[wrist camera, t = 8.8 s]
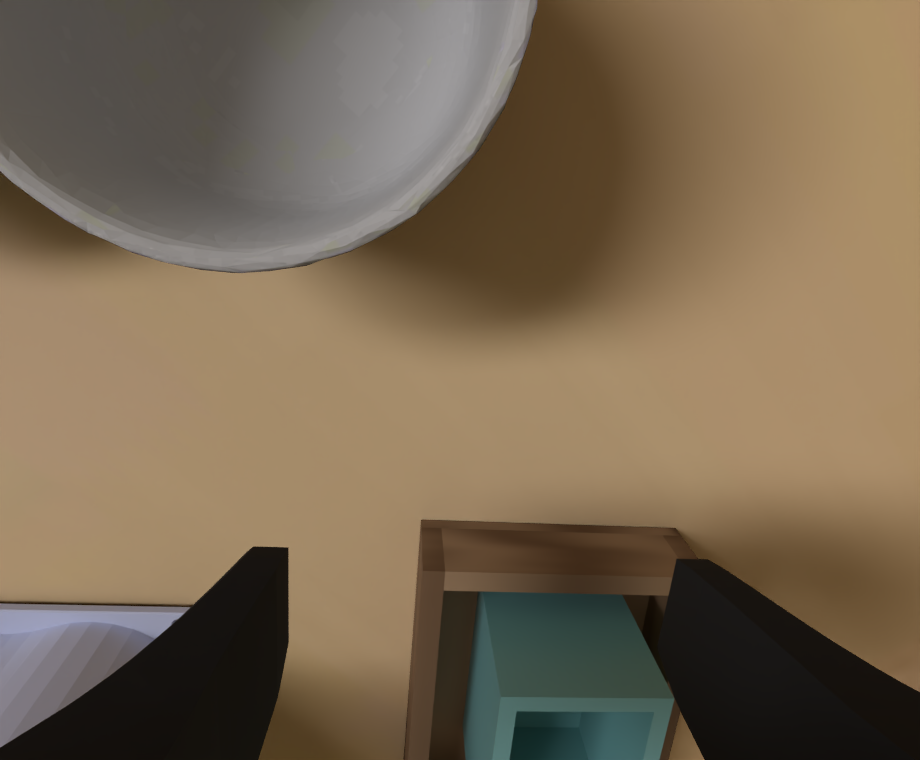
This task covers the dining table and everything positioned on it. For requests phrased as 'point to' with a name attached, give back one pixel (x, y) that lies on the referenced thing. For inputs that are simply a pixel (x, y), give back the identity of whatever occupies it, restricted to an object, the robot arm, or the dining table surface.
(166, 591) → the dining table surface
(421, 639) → the walnut crate
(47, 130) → the teacup
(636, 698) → the teal crate
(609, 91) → the dining table surface
